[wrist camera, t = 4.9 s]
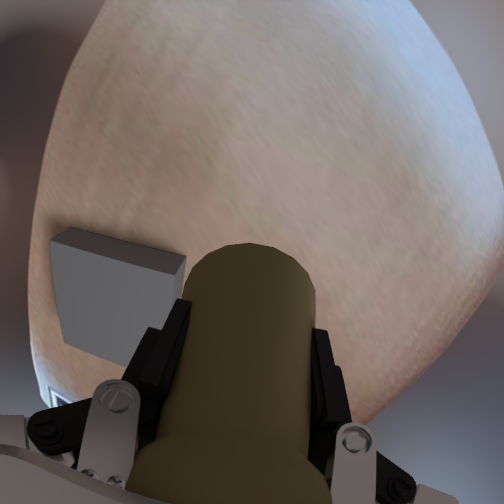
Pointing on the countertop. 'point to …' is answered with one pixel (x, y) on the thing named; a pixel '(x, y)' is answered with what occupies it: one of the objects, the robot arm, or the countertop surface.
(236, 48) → the countertop surface
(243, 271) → the cork
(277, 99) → the countertop surface
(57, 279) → the base block
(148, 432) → the robot arm
